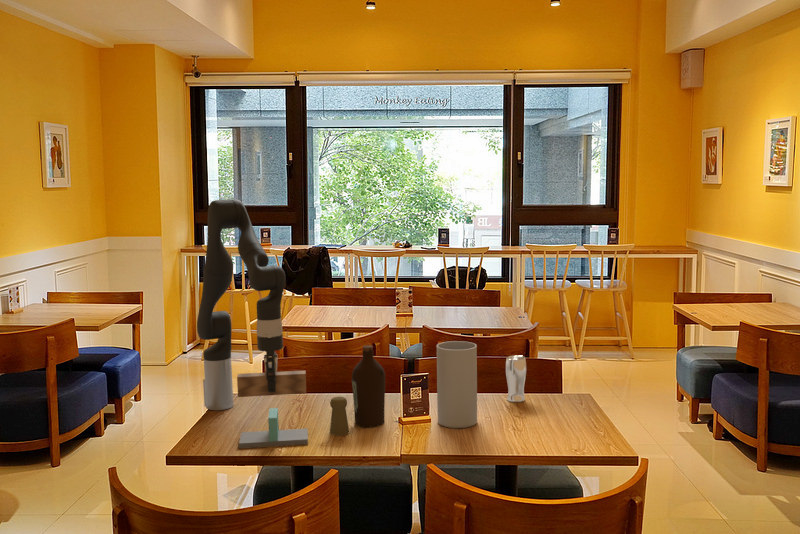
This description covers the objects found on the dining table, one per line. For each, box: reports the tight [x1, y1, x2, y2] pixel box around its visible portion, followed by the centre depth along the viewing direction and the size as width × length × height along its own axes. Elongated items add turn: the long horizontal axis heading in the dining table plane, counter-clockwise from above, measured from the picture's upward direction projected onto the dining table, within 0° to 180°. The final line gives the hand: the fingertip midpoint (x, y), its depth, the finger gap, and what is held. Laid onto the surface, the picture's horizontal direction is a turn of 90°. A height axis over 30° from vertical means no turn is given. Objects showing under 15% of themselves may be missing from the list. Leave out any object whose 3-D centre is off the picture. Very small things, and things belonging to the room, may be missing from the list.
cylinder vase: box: [436, 340, 478, 429], centre depth 249 cm, size 12×12×25 cm
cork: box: [329, 396, 350, 436], centre depth 243 cm, size 6×6×11 cm
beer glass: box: [505, 355, 527, 403], centre depth 273 cm, size 7×7×15 cm
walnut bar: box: [236, 370, 307, 398], centre depth 235 cm, size 20×4×6 cm, turn 97°
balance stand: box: [238, 407, 309, 449], centre depth 237 cm, size 20×10×8 cm, turn 97°
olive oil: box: [351, 344, 386, 428], centre depth 251 cm, size 11×11×25 cm
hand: (272, 389), depth 235 cm, fingers closed on walnut bar, 4 cm apart
